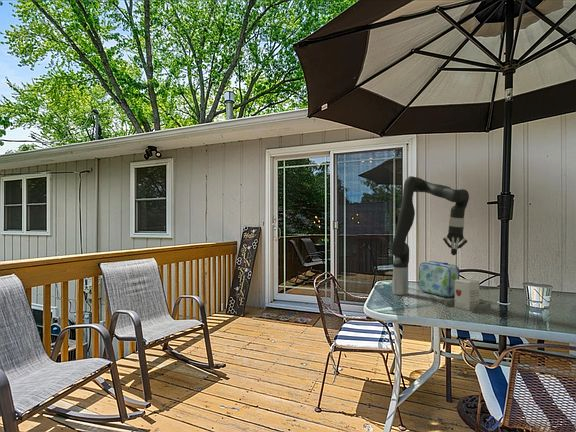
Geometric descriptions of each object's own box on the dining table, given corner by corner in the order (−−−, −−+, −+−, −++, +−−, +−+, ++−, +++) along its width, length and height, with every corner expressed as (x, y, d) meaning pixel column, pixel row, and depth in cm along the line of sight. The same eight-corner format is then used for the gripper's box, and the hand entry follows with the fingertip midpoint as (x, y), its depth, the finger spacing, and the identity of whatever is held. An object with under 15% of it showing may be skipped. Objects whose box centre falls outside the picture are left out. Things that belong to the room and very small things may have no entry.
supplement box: (453, 307, 189) (453, 279, 189) (464, 305, 193) (464, 278, 193) (469, 310, 181) (469, 282, 181) (480, 308, 185) (479, 280, 185)
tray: (473, 313, 177) (473, 307, 177) (444, 306, 191) (444, 300, 191) (490, 308, 185) (490, 303, 185) (462, 302, 199) (462, 297, 199)
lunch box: (462, 297, 211) (462, 263, 211) (450, 299, 206) (450, 264, 206) (428, 289, 234) (428, 258, 235) (417, 291, 230) (416, 259, 230)
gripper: (468, 224, 194) (465, 254, 197) (443, 222, 199) (440, 252, 202) (470, 227, 187) (467, 258, 190) (444, 225, 192) (441, 255, 195)
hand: (453, 254), depth 196 cm, fingers closed
